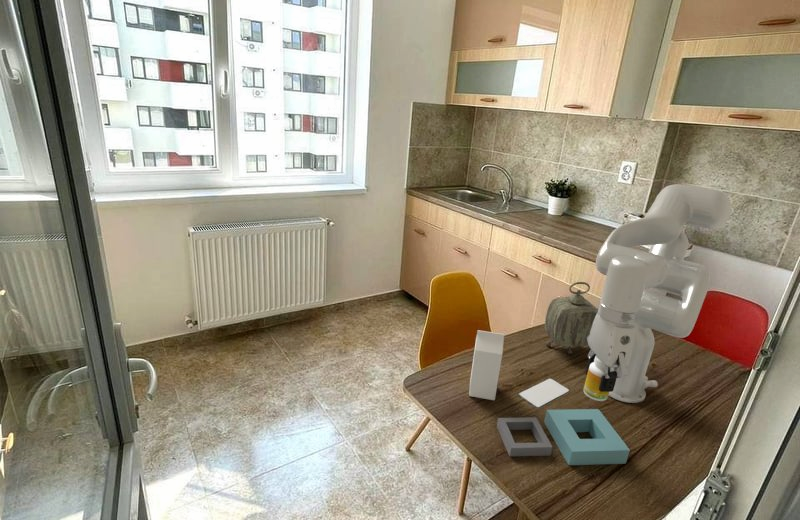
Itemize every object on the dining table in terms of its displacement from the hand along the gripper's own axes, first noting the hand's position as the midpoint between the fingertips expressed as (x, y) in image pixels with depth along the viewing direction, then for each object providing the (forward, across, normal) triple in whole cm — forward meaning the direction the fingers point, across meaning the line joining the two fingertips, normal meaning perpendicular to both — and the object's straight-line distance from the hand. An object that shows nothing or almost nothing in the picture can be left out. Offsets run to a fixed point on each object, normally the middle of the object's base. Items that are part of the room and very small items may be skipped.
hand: (598, 381), depth 101 cm
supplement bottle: (+4, 0, 0) cm, 4 cm away
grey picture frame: (+18, +1, +15) cm, 23 cm away
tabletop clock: (+18, +41, -15) cm, 47 cm away
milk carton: (+18, +20, +20) cm, 34 cm away
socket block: (+18, 0, 0) cm, 18 cm away
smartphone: (+18, +19, +2) cm, 26 cm away
